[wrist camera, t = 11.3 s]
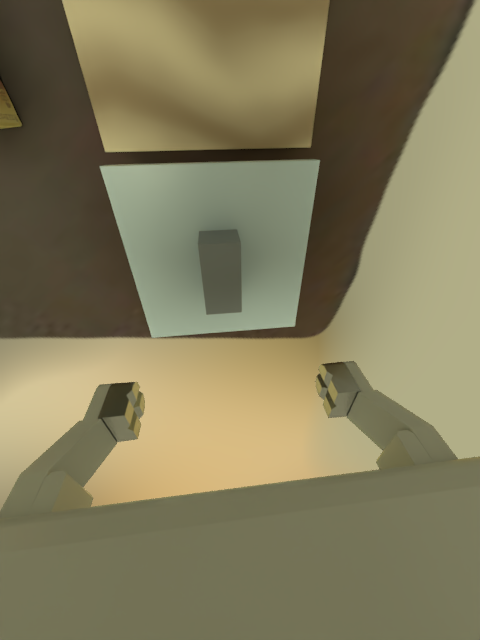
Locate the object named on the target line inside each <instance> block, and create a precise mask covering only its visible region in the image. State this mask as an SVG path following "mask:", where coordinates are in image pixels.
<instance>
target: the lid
mask: <svg viewBox="0 0 480 640" xmlns="http://www.w3.org/2000/svg"><path fill="white" fill-rule="evenodd" d="M319 163H320V160H317V159H299V160H263V161H228V162H192V163H156V164H120V165H103V166H100V169H101V173H102V176H103V179H104V182H105V186H106V189H107V192H108V195H109V199H110V202H111V205H112V209H113V212H114V215H115V218H116V222H117V225H118V228H119V231H120V235H121V238H122V241H123V244H124V248H125V251H126V254H127V257H128V261H129V264H130V267H131V270H132V274H133V277H134V280H135V283H136V287H137V290H138V293H139V297H140V300H141V303H142V306H143V310H144V313H145V316H146V319H147V323H148V326H149V329H150V332H151V336H152V338H154V337H166V336H179V335H191V334H204V333H216V332H229V331H241V330H254V329H266V328H279V327H291V326H295V321H296V314H297V308H298V301H299V295H300V288H301V281H302V275H303V268H304V262H305V255H306V249H307V242H308V235H309V229H310V222H311V216H312V209H313V203H314V196H315V189H316V183H317V176H318V170H319Z"/></svg>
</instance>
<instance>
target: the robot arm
mask: <svg viewBox="0 0 480 640" xmlns="http://www.w3.org/2000/svg"><path fill="white" fill-rule="evenodd" d="M319 372H320V374H319V375H318V376H317V378H316V388H317V392H318V394H319V396H320V397H321V398H323V399H324V403H323V406H324V409H325V411H326V413H327V415H328V418H332V417H333V418H334V417H345V416H347V418H348V419H349V420H350V421H352V423H354V424H355V425H356V426H357V427H358V428H359V429H360V430H361V431H362V432H363V433H364V434H365V435H367V436H368V437H369V438H370V439H371V440H372V441H373V442H374V443H375V444H376V445H377V446H378V447H380V448H381V449H382V450H383V452H382V453H381V455H380V456H379V457H378V459H377V461H376V463H377V465H378V467H379V470H372V471H364V472H356V473H349V474H341V475H334V476H326V477H318V478H310V479H302V480H295V481H287V482H279V483H272V484H264V485H257V486H248V487H241V488H233V489H225V490H218V491H210V492H203V493H194V494H187V495H179V496H171V497H164V498H156V499H149V500H140V501H133V502H125V503H117V504H110V505H102V506H95V507H91V504H92V500H93V497H92V495H91V494H90V493H88V492H87V491H86V490H85V489H84V488H83V487H84V486H85V484H86V483H87V482H88V480H89V479H90V478H91V477H92V475H93V474H94V473H95V471H96V470H97V469H98V467H99V466H100V465H101V463H102V462H103V461H104V460H105V458H106V457H107V456H108V454H109V453H110V452H111V450H112V449H113V448H114V447H115V445H116V444H117V442H121V441H128V440H135V439H138V436H139V432H140V427H141V423H140V421H139V419H140V417H141V416H142V415H143V413H144V408H145V400H144V396H143V393H141V392H140V391H139V388H140V386H139V384H138V382H129V383H115V384H103V385H99V386H98V387H97V389H96V391H95V393H94V396H93V398H92V401H91V403H90V405H89V408H88V410H87V412H86V414H85V417H84V419H83V421H79V422H77V423H76V424H75V425H74V426H73V427H72V428H71V429H70V430H69V431H68V432H66V433H65V434H64V435H63V436H62V437H61V438H60V439H59V440H58V441H56V442H55V443H54V444H53V445H52V446H51V447H50V448H49V449H48V450H47V451H46V452H44V453H43V454H42V455H41V456H40V457H39V458H38V459H37V460H36V461H34V462H33V463H32V464H31V465H30V466H29V467H28V468H27V469H26V470H25V471H23V472H22V473H21V474H20V476H19V478H18V479H17V481H16V483H15V485H14V487H13V489H12V491H11V492H10V494H9V496H8V498H7V500H6V502H5V503H4V505H3V507H2V509H1V511H0V640H480V457H472V458H464V459H458V458H457V457H456V456H455V454H454V453H453V452H452V451H451V449H450V448H449V446H448V445H447V444H446V443H445V441H444V440H443V439H442V437H441V436H440V435H439V433H438V432H437V431H436V429H435V428H434V427H433V426H432V425H430V424H429V423H427V422H426V421H424V420H423V419H421V418H419V417H418V416H416V415H415V414H413V413H412V412H410V411H409V410H407V409H405V408H404V407H403V406H401V405H399V404H398V403H396V402H395V401H393V400H391V399H390V398H389V397H387V396H385V395H384V394H382V393H381V392H379V391H378V390H373V388H372V387H371V386H370V384H369V382H368V381H367V379H366V378H365V376H364V375H363V373H362V372H361V370H360V368H359V367H358V366H357V364H356V363H355V362H354V361H349V362H337V363H327V364H321V365H320V367H319Z"/></svg>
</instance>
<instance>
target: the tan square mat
mask: <svg viewBox="0 0 480 640" xmlns="http://www.w3.org/2000/svg"><path fill="white" fill-rule="evenodd" d="M62 2H63V6H64V9H65V13H66V16H67V20H68V23H69V27H70V30H71V34H72V37H73V41H74V44H75V48H76V51H77V55H78V58H79V62H80V65H81V69H82V72H83V76H84V79H85V83H86V86H87V90H88V93H89V97H90V100H91V104H92V107H93V111H94V114H95V118H96V121H97V125H98V128H99V132H100V135H101V139H102V142H103V146H104V149H105V152H134V151H177V150H219V149H261V148H303V147H311V141H312V133H313V125H314V118H315V110H316V102H317V94H318V87H319V79H320V71H321V64H322V56H323V48H324V41H325V33H326V25H327V17H328V10H329V2H330V0H62Z"/></svg>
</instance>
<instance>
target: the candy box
mask: <svg viewBox="0 0 480 640" xmlns="http://www.w3.org/2000/svg"><path fill="white" fill-rule="evenodd" d="M20 126H22V123H21V121H20V120H19V118H18V116H17V114H16V111H15V109H14V107H13V105H12V102H11V100H10V98H9V96H8V94H7V92H6V90H5V88H4V86H3V84H2V82H1V80H0V129H3V128H11V127H20Z"/></svg>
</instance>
